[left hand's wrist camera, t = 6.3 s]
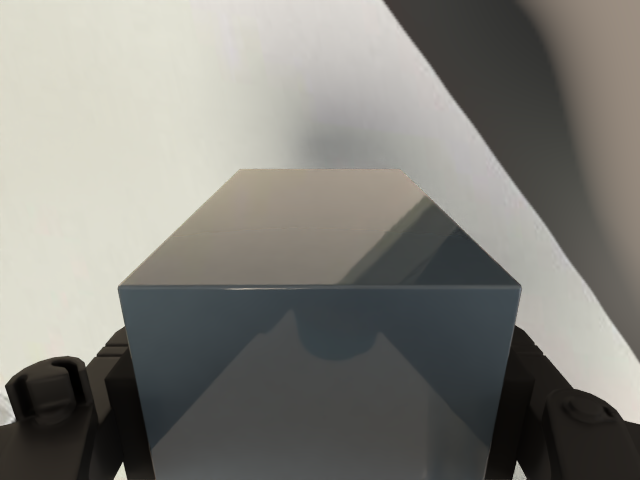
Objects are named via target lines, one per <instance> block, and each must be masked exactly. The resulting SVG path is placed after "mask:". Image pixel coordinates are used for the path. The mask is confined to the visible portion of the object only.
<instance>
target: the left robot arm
mask: <svg viewBox="0 0 640 480" xmlns="http://www.w3.org/2000/svg"><path fill="white" fill-rule="evenodd" d="M5 388H6V391H7V394H8V397H9V400H10V403H11V406H12V409H13V412H14V414H15V417H16V420H17V421H16V422H15V423H12V424H8V425H3V426H0V480H114V477H115V476H116V474H117V472H118V470H119V468H120V466H121V464H122V462H123V463H124V467H125V471H126V476H127V480H155V475H154V470H153V464H152V459H151V454H150V449H149V444H148V439H147V434H146V429H145V424H144V419H143V414H142V409H141V404H140V399H139V394H138V389H137V384H136V379H135V374H134V369H133V364H132V359H131V354H130V349H129V343H128V338H127V333H126V328H125V327H123V328H122V329H120V330H119V331H117V332H116V333H115V334H114V335H113V336H112V337H111V338H110V340H109V341H108V342H107V343H106V344H105V347H103V348H102V349H101V350H100V351H99V353H98V354H97V357H94V358H93V360H92V361H91V362H90V363H89V364H88V366H87V367H85V363H84V362H83V361H82V360H80V359H79V358H76V357H70V356H64V357H54V358H50V359H47V360H43V361H39V362H37V363H35V364H33V365H31V366H28V367H26V368H24V369H23V370H21V371H20V372H19V373H17V374H16V375H14V376H13V377H12V378H11V379H10V380H9V381H8V383H7V384H6V385H5ZM517 461H518V463H519V465H520V466H521V468H522V470H523V472H524V474H525V476H526V478H527V479H526V480H640V424H636V423H631V422H627V421H624V420H623V419H622V417H621V416H620V414H619V413H618V412H617V410H616V409H614V408H613V407H612V406H611V405H609V404H608V403H607V402H606V401H604V400H602V399H600V398H598V397H596V396H594V395H592V394H590V393H587V392H584V391H581V390H577V389H573V387H572V386H571V385H570V384H569V383H568V382H567V380H566V379H565V378H564V377H563V376H562V375H561V373H560V372H559V371H558V370H557V369H556V368H555V366H554V365H553V364H552V363H551V362H550V360H549V359H548V358H547V357H546V356H544V355H543V352H542V351H541V350H540V349H539V348H538V346H537V345H535V343H534V342H533V341H532V339H531V338H530V337H529V336H528V335H527V334H526V332H525V331H524V330H522V329H520V328H519V327H517V326H516V325H515V326H514V331H513V336H512V341H511V346H510V351H509V357H508V362H507V367H506V372H505V377H504V382H503V387H502V392H501V397H500V402H499V407H498V412H497V417H496V422H495V427H494V432H493V437H492V442H491V448H490V453H489V458H488V463H487V468H486V473H485V478H484V480H512V479H513V474H514V470H515V466H516V462H517Z"/></svg>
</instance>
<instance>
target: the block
mask: <svg viewBox="0 0 640 480" xmlns="http://www.w3.org/2000/svg"><path fill="white" fill-rule="evenodd" d="M521 291H522V287H521V285H520V284H519V283H518V282H517V281H516V280H515V279H514V278H513V277H512V276H511V275H510V274H509V273H508V272H507V271H505V270H504V269H503V268H502V267H501V266H500V265H499V264H498V263H497V262H496V261H495V260H494V259H493V258H492V257H491V256H490V255H489V254H488V253H487V252H486V251H485V250H484V249H483V248H482V247H481V246H479V245H478V244H477V243H476V242H475V241H474V240H473V239H472V238H471V237H470V236H469V235H468V234H467V233H466V232H465V231H464V230H463V229H462V228H461V227H460V226H459V225H458V224H457V223H456V222H455V221H453V220H452V219H451V218H450V217H449V216H448V215H447V214H446V213H445V212H444V211H443V210H442V209H441V208H440V207H439V206H438V205H437V204H436V203H435V202H434V201H433V200H432V199H431V198H430V197H429V196H428V195H426V194H425V193H424V192H423V191H422V190H421V189H420V188H419V187H418V186H417V185H416V184H415V183H414V182H413V181H412V180H411V179H410V178H409V177H408V176H407V175H406V174H405V173H404V172H403V171H402V170H400V169H239V170H238V171H237V172H236V173H235V174H234V175H233V176H232V177H231V178H230V179H229V180H228V181H227V182H226V183H225V184H224V185H223V186H222V187H221V188H220V189H218V190H217V191H216V192H215V193H214V194H213V195H212V196H211V197H210V198H209V199H208V200H207V201H206V202H205V203H204V204H203V205H202V206H201V207H200V208H199V209H198V210H197V211H196V212H195V213H193V214H192V215H191V216H190V217H189V218H188V219H187V220H186V221H185V222H184V223H183V224H182V225H181V226H180V227H179V228H178V229H177V230H176V231H175V232H174V233H173V234H172V235H171V236H170V237H169V238H167V239H166V240H165V241H164V242H163V243H162V244H161V245H160V246H159V247H158V248H157V249H156V250H155V251H154V252H153V253H152V254H151V255H150V256H149V257H148V258H147V259H146V260H145V261H144V262H142V263H141V264H140V265H139V266H138V267H137V268H136V269H135V270H134V271H133V272H132V273H131V274H130V275H129V276H128V277H127V278H126V279H125V280H124V281H123V282H122V283H121V284H120V285H119V286H118V293H119V298H120V303H121V308H122V313H123V318H124V323H125V328H126V333H127V338H128V343H129V349H130V354H131V359H132V364H133V369H134V374H135V379H136V384H137V389H138V394H139V399H140V404H141V409H142V414H143V419H144V424H145V429H146V434H147V439H148V444H149V449H150V454H151V459H152V464H153V470H154V475H155V480H484V478H485V473H486V468H487V463H488V458H489V453H490V448H491V442H492V437H493V432H494V427H495V422H496V417H497V412H498V407H499V402H500V397H501V392H502V387H503V382H504V377H505V372H506V367H507V362H508V357H509V351H510V346H511V341H512V336H513V331H514V326H515V321H516V316H517V311H518V306H519V301H520V296H521Z"/></svg>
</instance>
